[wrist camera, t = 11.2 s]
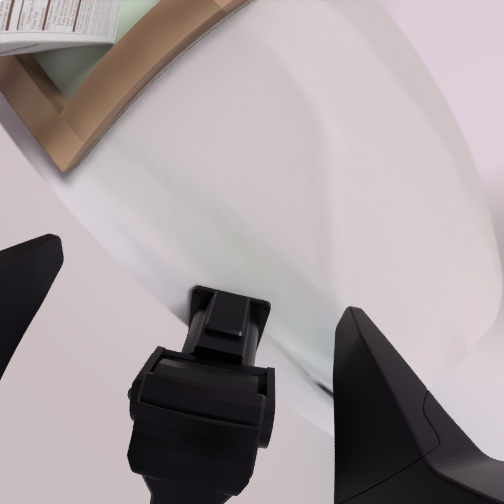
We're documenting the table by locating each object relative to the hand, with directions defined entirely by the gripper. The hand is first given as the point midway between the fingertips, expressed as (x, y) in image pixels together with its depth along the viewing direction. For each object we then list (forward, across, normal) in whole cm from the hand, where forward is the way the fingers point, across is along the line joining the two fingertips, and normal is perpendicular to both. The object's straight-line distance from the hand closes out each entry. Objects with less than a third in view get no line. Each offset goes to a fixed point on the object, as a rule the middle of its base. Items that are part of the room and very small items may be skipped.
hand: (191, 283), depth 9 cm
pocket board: (+13, +14, -10) cm, 22 cm away
